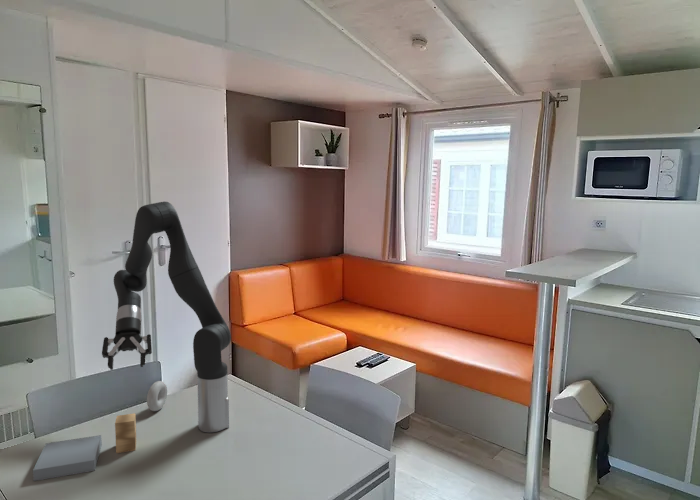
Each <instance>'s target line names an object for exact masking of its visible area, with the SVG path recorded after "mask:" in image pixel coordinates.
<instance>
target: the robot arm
mask: <svg viewBox="0 0 700 500" xmlns="http://www.w3.org/2000/svg"><path fill="white" fill-rule="evenodd" d="M163 232H165V235H166V236H167V239H168V242H169V245H170V248H169V249H170V250H169V251H170V252H169V259H168V265H167V266H168V267H167V275H168V277H169V279H170V281H171V284H172V287H173V288H174V291H175V293H176V294H177V295H178V297H179V298H180V299H181V300H182V301H183V302H184V303H185V304H186V305H187V306H188V307H190V309H191V310H192V311H193V312H194V313H195V314H196V316H197V318H198V321H199V323H200V325H201V327H202V328H199V329H198V330H197V331H196V332H195V334H194V336H193V343H192V346H193V347H192V348H193V351H192V352H193V362H194V367H195V370H196V374H197V376H196V377H197V378H196V379H197V380H196V381H197V413H198V414H197V417H198V418H197V422H198V423H197V424H198V429H199V431H201V432H204V433H217V432H220V431H223V430H225V429H228V428H230V399H229V395H228V394H229V388H228V387H229V385H228V384H229V383H228V380H229V379H228V365H227V364H226V362H223V361H222V351H223V350H224V349H227V348H228V347H229V345H230V344H231V341H232V340H231V339H232V334H231V330H230V329H229V326H228V325H227V322H226V321H225V319H224V318H223V316H222V314H221V313H220V310H219V309H218V307H217V305H216V303H215V302H214V299H213V297H212V294H211V292H210V291H209V289H208V286H207V284H206V282H205V279H204V276H203V274H202V271H201V270H200V267H199V265H198V263H197V262H196V259H195V257H194V255H193V253H192V250H191V249H190V245H189V243H188V241H187V238H186V236H185V232H184V229H183V226H182V224H181V220H180V217H179V215H178V212H177V210H176V209H175V207H174V205H173V204H172V203H170V202H168V201H160V202H154V203H150V204H145V205H142V206H141V207H139V209H138V210H137V212H136V215H135V220H134V228H133V233H132V234H133V236H132V243H131V247H130V252H129V254H128V256H127V258H126V261H125V264H124V265H125V266H124V268H125V269H120V270H117V272H115V274H114V277H113V285H114V286H113V287H114V289H115V292H116V295H117V296H116V297H117V311H116V319H115V331H114V332H115V333H114V334H115V336H114V337H113V338H109V337H107V336H106V337H103V341H102V342H103V343H102V350H101V356H102V358H103V359H105V358H106V359H107V367H108V369H109V370H110V371H112V370H114V357H115V356H117V355H118V354H119V353H120V352H121V351H122V352H127V351H128V352H130V351H131V352H133V351H134V350H136V352H137V353H139V355H140V362H139V363H140V364H139V365H140V368H144V366H145V365H146V359H147V358H146V356H148V355H151V354H152V353H153V351H152V350H153V349H152V334H150V333H149V334H147V335H146V336H145V335H144V336H142V312H141V309H142V308H141V306H142V305H141V304H142V302H141V301H142V297H141V295H140V294H139V293H137V292H142V291H144V290H145V288H146V287H147V283H148V281H147V280H148V279H147V272H148V268H149V265H150V263H151V261H152V258H153V250H152V248H151V246H150V244H149V240H150V238H151V236H152V235H153V234H159V233H163ZM142 341H143V342H144V343H145V344H146V345H147V346H146V347H147V348H146V349H145V348H144V347H143V346H142V345H141V343H142ZM112 343H113V344H114V346H113V347H112V348H111V350H108V349H109V347H110V346H111V345H112ZM108 351H109V352H108Z"/></svg>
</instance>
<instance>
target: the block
mask: <svg viewBox="0 0 700 500" xmlns="http://www.w3.org/2000/svg"><path fill="white" fill-rule="evenodd" d="M136 416H137V415H136V413H126V414H120V415H119V414H118V415H116V418H115V423H114V428H115V429H114V432H115V434H114V435H115V451H116V452H115V453H116V454H121V453H126V452H133V451H136V449H137V422H136V421H137V419H136V418H137V417H136Z"/></svg>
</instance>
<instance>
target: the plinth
mask: <svg viewBox="0 0 700 500" xmlns="http://www.w3.org/2000/svg"><path fill="white" fill-rule="evenodd" d="M102 440H103V439H102V434H100V435H99V434H98V435H94V436H87V437H79V438H71V439H67V440H66V439H64V440H59V441H53V442H46V443H45V445H44V447H43V449H42V450H41V452H40V454H39V457H38V459H37V461H36V463H35V466H34V467H33V469H32V475H33V482H35V481H42V480H46V479H53V478H59V477H65V476H70V475H78V474H83V473H88V472H93V471H94V472H95V471H96V468H97V464H98V460H99V457H100V453H101V449H102V448H101V447H102V445H103V444H102Z"/></svg>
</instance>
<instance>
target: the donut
mask: <svg viewBox="0 0 700 500" xmlns="http://www.w3.org/2000/svg"><path fill="white" fill-rule="evenodd" d="M167 398H168V387H167V384H166V383H165V381H162V380H157V381H154V383H153V384H151V385H150V387H149V389H148V391H147V395H146V406H147V407H148V409H149V410H150V411H152V412H158V411H159V410H161V409H162V408H163V407H164V405H165V403H166V400H167Z"/></svg>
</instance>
